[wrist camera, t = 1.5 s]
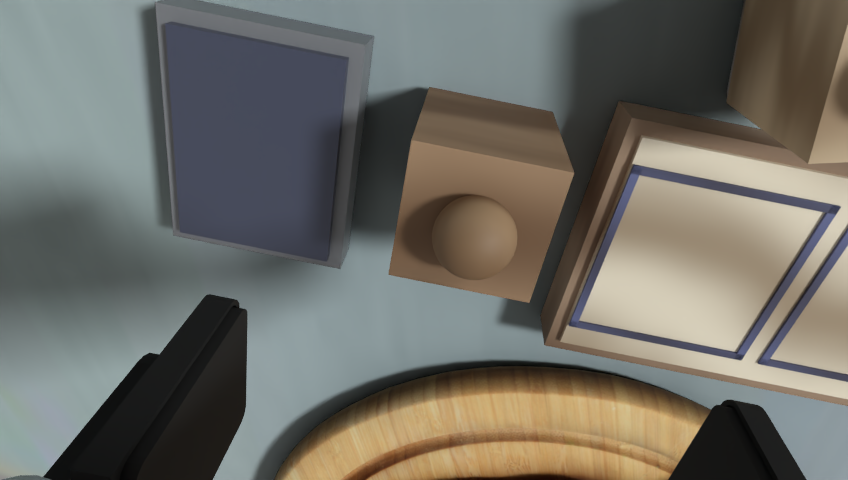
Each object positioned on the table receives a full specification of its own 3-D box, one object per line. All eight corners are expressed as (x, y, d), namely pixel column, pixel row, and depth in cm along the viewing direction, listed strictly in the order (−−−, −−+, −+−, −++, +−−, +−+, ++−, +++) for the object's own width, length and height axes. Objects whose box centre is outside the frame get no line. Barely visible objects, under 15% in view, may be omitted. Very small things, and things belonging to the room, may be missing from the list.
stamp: (430, 83, 20) (402, 165, 13) (551, 107, 20) (585, 202, 13) (411, 192, 22) (378, 309, 15) (518, 214, 22) (533, 341, 15)
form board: (618, 100, 19) (634, 120, 17) (1054, 188, 19) (1118, 218, 17) (540, 315, 24) (545, 350, 23) (885, 384, 25) (920, 425, 23)
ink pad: (179, -4, 19) (148, 4, 17) (374, 36, 19) (363, 47, 17) (191, 217, 24) (168, 240, 22) (348, 248, 24) (337, 274, 22)
